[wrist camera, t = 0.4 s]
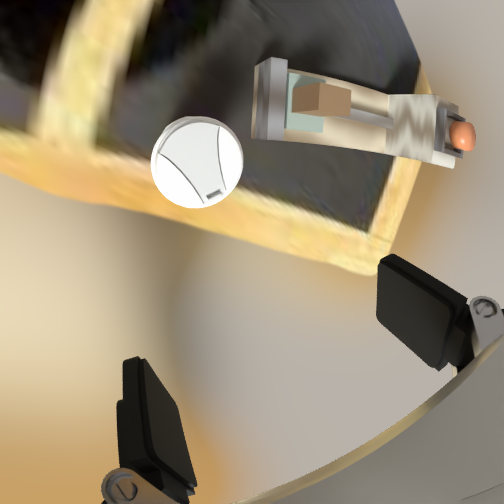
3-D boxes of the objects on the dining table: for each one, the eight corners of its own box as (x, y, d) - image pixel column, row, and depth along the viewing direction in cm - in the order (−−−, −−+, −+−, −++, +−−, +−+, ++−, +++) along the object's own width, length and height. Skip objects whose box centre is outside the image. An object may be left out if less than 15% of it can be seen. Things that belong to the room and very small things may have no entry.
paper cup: (221, 168, 36) (261, 186, 24) (167, 195, 35) (176, 228, 23) (198, 112, 33) (226, 99, 20) (140, 139, 31) (133, 140, 19)
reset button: (450, 117, 29) (463, 119, 27) (463, 124, 30) (476, 126, 28) (448, 145, 31) (462, 148, 29) (461, 150, 32) (474, 153, 30)
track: (254, 66, 32) (303, 40, 21) (406, 103, 41) (466, 107, 30) (250, 138, 36) (298, 142, 25) (402, 157, 45) (461, 170, 34)
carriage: (277, 76, 32) (316, 63, 24) (312, 82, 34) (355, 74, 25) (275, 128, 35) (312, 128, 27) (309, 132, 36) (352, 134, 28)
